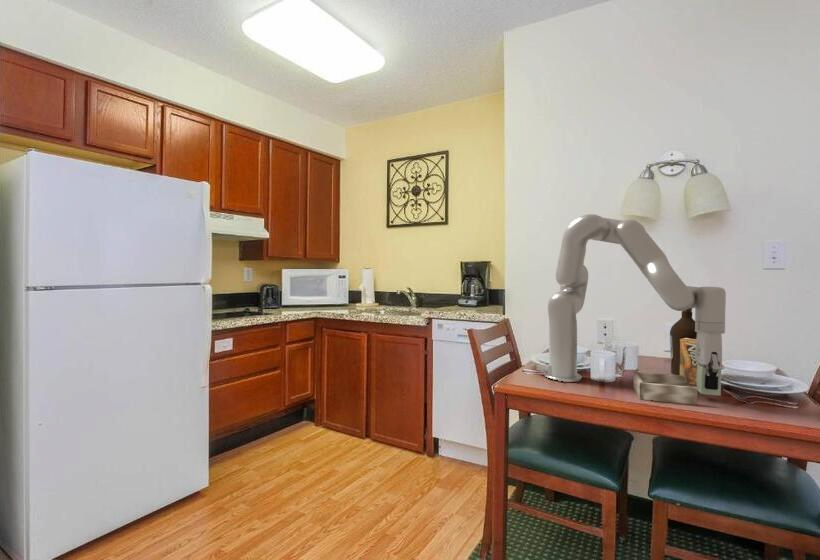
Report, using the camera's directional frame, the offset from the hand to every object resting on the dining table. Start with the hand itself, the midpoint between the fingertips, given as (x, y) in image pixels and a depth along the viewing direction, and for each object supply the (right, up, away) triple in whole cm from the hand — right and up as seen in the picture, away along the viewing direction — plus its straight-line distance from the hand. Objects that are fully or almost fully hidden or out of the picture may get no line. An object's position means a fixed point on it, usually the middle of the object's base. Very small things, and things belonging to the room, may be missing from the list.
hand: (708, 385), depth 132 cm
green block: (0, -2, 0) cm, 2 cm away
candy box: (+7, -4, +17) cm, 19 cm away
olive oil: (+12, -3, +30) cm, 32 cm away
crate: (-11, -4, +4) cm, 13 cm away
